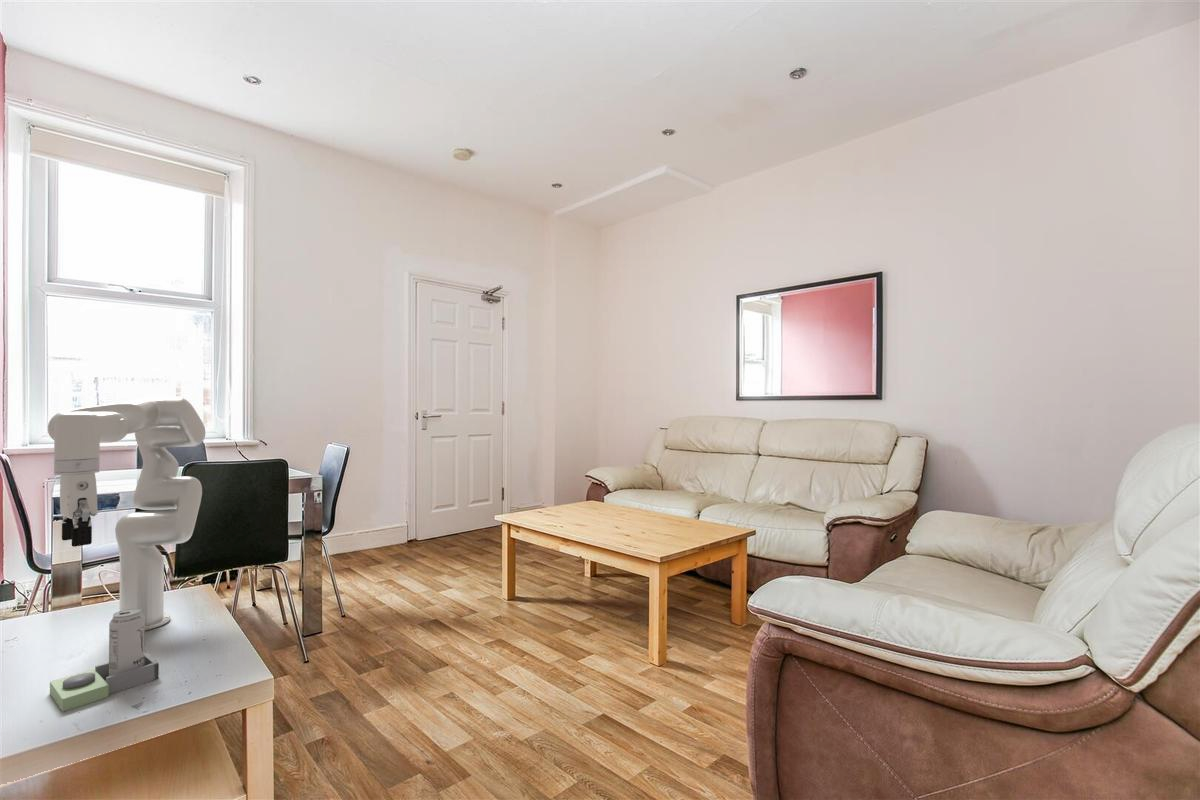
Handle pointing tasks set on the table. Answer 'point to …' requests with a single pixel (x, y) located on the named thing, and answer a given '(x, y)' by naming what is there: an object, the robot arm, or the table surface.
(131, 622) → the energy drink can
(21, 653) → the table surface
